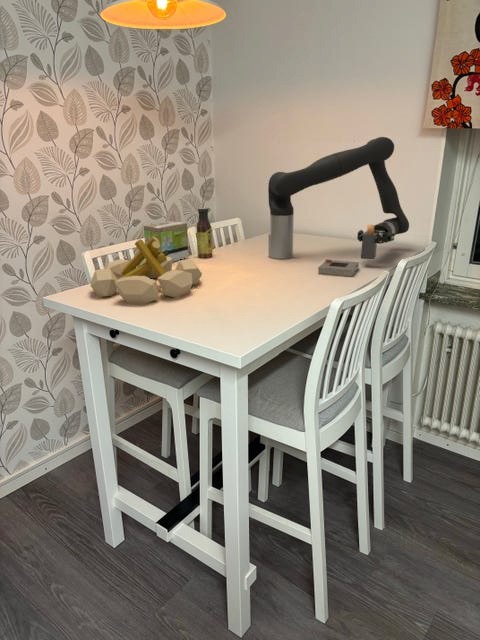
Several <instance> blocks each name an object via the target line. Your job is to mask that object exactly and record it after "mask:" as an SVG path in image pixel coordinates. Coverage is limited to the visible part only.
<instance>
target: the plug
mask: <svg viewBox="0 0 480 640" xmlns="http://www.w3.org/2000/svg"><path fill="white" fill-rule="evenodd" d="M374 225H375V224H367V229H366V231H367V232H366V231H365V233H364V234H363V238H362V241H361V251H360V253H361V254H360V259H361V260H363V259H364V260H374V259H375V258H376V256H377V243H374V239H375V237H376V236H377V235H378V233H374Z"/></svg>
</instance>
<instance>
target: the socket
mask: <svg viewBox="0 0 480 640" xmlns="http://www.w3.org/2000/svg"><path fill="white" fill-rule="evenodd" d="M359 264H360V262H359V261H350V260H334V259H330V258H329V259H325V260H324V261H323V262H322V263H321V264H320V265H319V266H318V268H317V269H318V270H317V274H318V275H326V276H336V277H346V278H352V277H353V276H354V275H355V274H356V273H357V271H358V270H359V268H360V267H359Z"/></svg>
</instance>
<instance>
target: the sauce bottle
mask: <svg viewBox="0 0 480 640" xmlns="http://www.w3.org/2000/svg"><path fill="white" fill-rule="evenodd" d="M197 213H198V222H196V226H195V227H196V248H197V249H196V250H197V256H198V258H201V259H207V258H211V257H213V235H212V234H213V233H212V232H213V231H212V229H213V228H212V225H211V222H210V220H209V208H208V207H198V208H197Z"/></svg>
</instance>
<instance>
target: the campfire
mask: <svg viewBox="0 0 480 640" xmlns="http://www.w3.org/2000/svg"><path fill="white" fill-rule="evenodd" d="M134 245H135V247H136V248H137V249H138V252H137V253H136V254H135V255H134V256H133V257H132V258H131V260H127V259H120V258H119V259H117V260H113V261H110V262H108V264H107V266H106V268H104V269H95V270H94V273H93V276H92V277H91V279H90V281H89V284H90V287H91V288H92V290H93V291H94V292H95V294H96V295H97V296H98V297H99V296H100V298H101V297H102V298H103V297H111V296H112V295H113V296H114V295H115V294H116V291H118V294H119V296H120V297H121V298H122V299H123V300H124V301H125V302H126V303H127V304H143V305H145V304H146V305H147V304H149V303H152V302H153V301H156V300H158V299H160V295H159V290H158V283H159V286H160V288H161V289H162V291H163V293H164V295H165V296H166V297H170V298H175V299H176V298H177V299H178V298H180V297H182V296H183V297H184V295H187V294H189V292H190V290H191V288H192V286H196V285H198V282H199V281H200V279H201V277H202V275H203V273H202V271H201V270H200V268H199V267H198V265H197V264H196V263H195V261H194V260H193V259H192V260H191V259H190V260H179V262H178V263H177V264H176V267H175V269H173V262H172V261H173V258H171V257H166V256H165V255H164V253H160V254H159V255H158V252H159V249H160V243H159V240H158V239H157V238H156V237H154V236H152V237H151V238H150V240H149V241H148V242H147V243H146V244H145V241H144V240H143V239H140V238H139V239H138V240H137V241H136V242H135V243H134ZM150 278H157V279H150ZM157 281H158V283H157Z"/></svg>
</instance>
